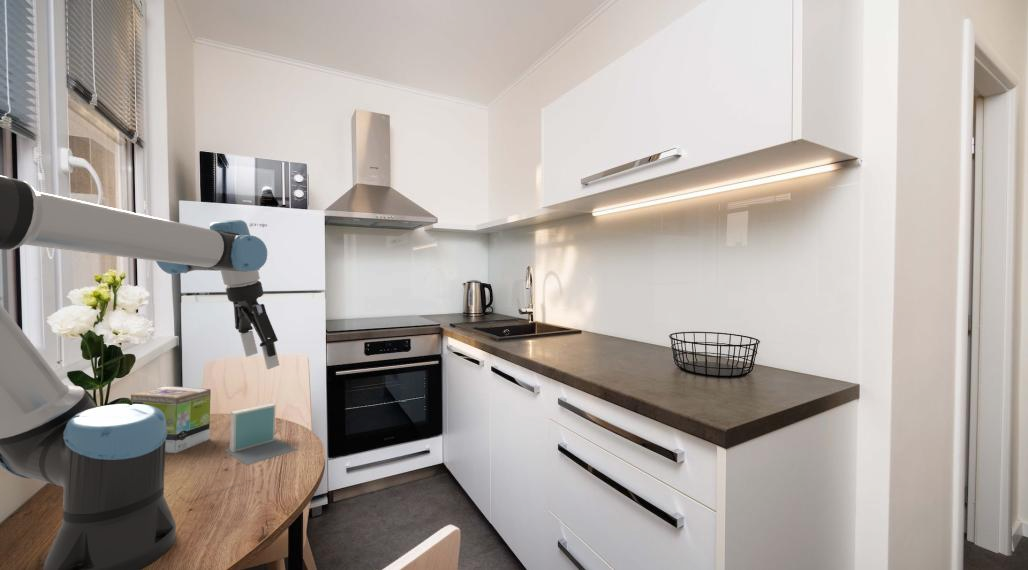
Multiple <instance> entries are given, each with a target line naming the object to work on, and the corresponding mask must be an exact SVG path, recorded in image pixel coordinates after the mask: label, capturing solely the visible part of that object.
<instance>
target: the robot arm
mask: <svg viewBox="0 0 1028 570" xmlns="http://www.w3.org/2000/svg"><path fill="white" fill-rule="evenodd" d="M24 245H25V246H31V247H41V248H50V249H57V250H65V251H73V252H79V253H80V252H81V253H88V254H98V255H105V256H106V255H107V256H113V257H122V258H129V259H138V260H146V261H155V262H156V264H157V266H158V267H159V268H160V269H161V270H162V271H163V272H165V273H166V274H170V275H177V274H178V275H179V274H187V273H189V272H192V271H193V272H194V271H216V272H217V271H220V273H221V278H222V280H223V284H224V285H225V286H226V287H225V291H226V292H225V293H226V296H227V301H228V302H231V303H232V304H233V312H234V313H233V314H234V328H235V329H236V330H237V332H238V333H239V335H240V339H241V342H242V346H243V350H244V353H245V357H251V356H253V355H256V354H258V353H259V352H258V349H257V348H258V347H257V344H256V340H255V337H254V333H253V331H252V330H253V329H254V330H255V332H256V335H257V336H258V338H259V339H260V342H261V343H260V344H259V347H260V348H261V350H262V353H263V358H264V362H265V365H266V367H265V368H266V369H267V370H271V369H273V368H276V367H277V366H280V361H279V356H278V353H277V349H276V343H277V342H278V337H277V335H276V332H275V329H274V328H273V326H272V323H271V321H270V318H269V315H268V313H267V310H266V305H265V304H264V303H261V304H260V303H259V302H258V299H259V298H261V297H263V295H264V289H263V284H262V282H261V281H260V279H261V276H260V274H259V273H260V272H259V271H260V270H261V268H263V267H264V265H265V264H266V263H267V260H268V248H267V245H266V244H265V242H264V241H263V240H262V239H261V238H259V237H258V236H255V235H251V233H250V229H249V227H248V224H247V223H246V222H245V221H244V220H242V219H234V220H233V219H231V220H221V221H214V222H211V223H210V224H209V228H204V227H199V226H196V225H191V224H188V223H181V222H177V221H173V220H168V219H164V218H159V217H154V216H150V215H146V214H142V213H135V212H132V211H128V210H123V209H118V208H115V207H109V206H105V205H100V204H96V203H91V202H86V201H82V200H77V199H73V198H68V197H63V196H58V195H55V194H50V193H46V192H41V191H40V192H39V191H37V190H36V189H35V188H34V187H33V186H32V185H31V184H30V183H29V182H28V181H24V180H22V179H17V178H12V177H9V176H5V175H0V250H5V251H12V250H13V251H14V250H16V249H18V248H20V247H23V246H24ZM275 342H276V343H275ZM166 437H167V428H166V420H165V415H164V413H163V412H162V411H161V410H160V409H158V408H156V407H153V406H149V405H145V404H132V405H130V404H129V403H115V404H108V405H101V406H97V404H96V403H95V402H94V400H93V399H92V398H91V397H90V396H89V394H88V393H87V391H86V390H85V389H84V388H83V387H82V386H79V385H66V384H64V382H63V381H62V379H60V377H59V376H58V375H57V373H56V372H55V371H54V370H53V368H52V367H51V366H50V364H49V363H48V362H47V360H46V359H45V358H44V357H43V355H42V354H41V353H40V351H39V350H38V349H37V347H36V346H35V345H34V343H32V342H31V340H30V338H29V337H28V336H27V335H26V334H25V332H24V331H23V330H22V329H21V327H20V326H19V325H18V324H17V322H16V320H14V318H13V317H12V316H11V314H9V312H8V311H7V310H6V308H5V306H3V305H2V303H1V302H0V466H1V467H2V468H3V470H5V471H7V472H8V473H11V475H14V476H16V477H20V478H24V479H29V480H30V479H31V480H32V479H33V480H37V481H40V482H44V483H48V484H52V485H55V486H59V487H62V488H63V493H62V494H63V496H62V498H63V500H62V522H61V525H60V526H59V529H58V532H57V534H56V536H55V538H54V540H53V542H52V545H51V547H50V549H49V551H48V554H47V556H46V557H45V560H44V562H43V563H44V564H43V570H140V569H142V568H144V567H146V566H147V565H149V564H151V563H153V562H154V561H156V560H157V559H158V558H160V557H162V556H163V555H164V554H165V553H167V551H168V550H170V548H171V547H172V546H173V545H174V543H175V540H176V536H177V535H176V533H177V531H176V530H177V525H176V520H175V519H174V517H173V513H172V511H171V510H170V507H169V505H168V503H167V500H166V498H165V492H164V491H165V474H166V473H165V471H166V469H165V467H166V466H165V464H166V452H165V446H166Z"/></svg>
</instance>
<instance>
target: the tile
mask: <svg viewBox="0 0 1028 570" xmlns="http://www.w3.org/2000/svg"><path fill="white" fill-rule="evenodd" d="M229 423H230V424H229V425H230V429H229V449H230V450H231V451H232V452H235V451H239V450H242V449H246V448H249V447H253V446H257V445H260V444H264V443H267V442H271V441H274V438H275V428H276V404H275V403H272V402H271V403H270V402H269V403H266V404H262V405H261V404H260V405H256V406H252V407H251V406H250V407H247V408H242V409H237V410H232V411H230V421H229Z"/></svg>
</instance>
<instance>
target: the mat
mask: <svg viewBox="0 0 1028 570" xmlns="http://www.w3.org/2000/svg"><path fill="white" fill-rule="evenodd" d="M297 450H298V448H295V447H294V446H292V445H290V444H288V443H286V442H284V441H282V440H280V439H278V438H277V437H274V441H271V442H267V443H264V444H260V445H257V446H253V447H249V448H246V449H242V450H239V451H235V452H232V451H231V450H230V448H226V449H224V450H223V451H224V452H225V453H228V455H230V456H231V457H233V458H235V459H236V460H237V461H240V462H241V463H242V464H244V465H245V466H250V465H252V464H255V463H256V464H257V463H258V462H262V461H265V460H268V459H271V458H275V457H278V456H281V455H285V454H288V453H291V452H294V451H297Z"/></svg>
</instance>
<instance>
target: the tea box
mask: <svg viewBox="0 0 1028 570" xmlns="http://www.w3.org/2000/svg"><path fill="white" fill-rule="evenodd" d="M211 392H212V391H211V389H210V388H204V387H203V388H199V387H186V386H173V385H172V386H171V385H167V386H161V387H158V388H153V389H149V390H144V391H139V392H136V393H132V394H130V402H131V401H132V402H133V403H134V404H145V405H149V406H153V407H156V408H158V409H160V410H161V411H162V412H163V413H164V415H165V420H166V428H167V437H166V446H165V453H169V454H177V453H179V452H182V451H184V450H187V449H188V448H192V447H194V446H196V445H199V444H201V443H203V442H206V441H208V440H210V425H211V423H210V421H211V419H210V418H211V394H212V393H211Z"/></svg>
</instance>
